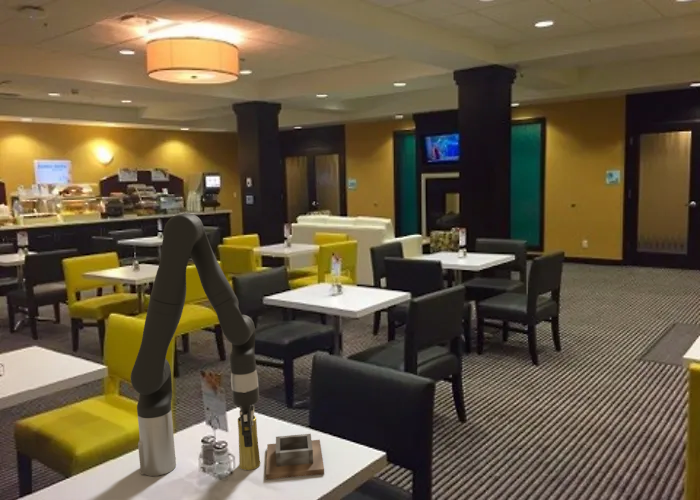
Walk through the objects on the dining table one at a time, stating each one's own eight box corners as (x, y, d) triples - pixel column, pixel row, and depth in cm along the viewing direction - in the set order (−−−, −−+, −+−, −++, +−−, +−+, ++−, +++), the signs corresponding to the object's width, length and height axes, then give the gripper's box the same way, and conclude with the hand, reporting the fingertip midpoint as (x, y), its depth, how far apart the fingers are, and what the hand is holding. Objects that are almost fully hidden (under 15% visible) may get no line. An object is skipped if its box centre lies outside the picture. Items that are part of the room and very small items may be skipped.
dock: (266, 479, 162) (265, 460, 161) (267, 448, 179) (266, 431, 179) (324, 474, 163) (323, 455, 163) (319, 444, 181) (319, 427, 180)
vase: (249, 472, 166) (246, 424, 164) (234, 466, 169) (231, 419, 167) (264, 463, 171) (262, 417, 168) (250, 457, 174) (247, 412, 172)
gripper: (233, 378, 173) (237, 430, 175) (229, 396, 159) (234, 452, 161) (259, 375, 174) (263, 427, 176) (257, 393, 160) (261, 449, 162)
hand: (249, 439), depth 169 cm, fingers open, 8 cm apart
